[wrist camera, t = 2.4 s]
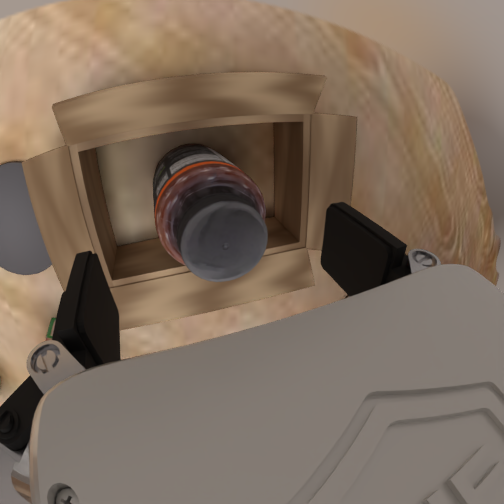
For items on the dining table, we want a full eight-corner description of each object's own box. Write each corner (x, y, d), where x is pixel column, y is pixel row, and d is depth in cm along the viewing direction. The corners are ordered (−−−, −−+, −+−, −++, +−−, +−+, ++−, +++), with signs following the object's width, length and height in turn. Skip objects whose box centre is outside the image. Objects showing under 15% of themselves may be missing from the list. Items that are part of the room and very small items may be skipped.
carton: (307, 80, 20) (359, 80, 15) (303, 240, 28) (341, 279, 23) (51, 112, 15) (12, 119, 9) (94, 283, 23) (85, 337, 17)
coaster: (51, 146, 16) (49, 147, 16) (82, 259, 22) (81, 263, 21) (-36, 181, 14) (-39, 184, 13) (-1, 279, 19) (-3, 282, 18)
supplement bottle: (224, 212, 24) (278, 294, 15) (153, 216, 22) (161, 308, 13) (230, 142, 21) (298, 181, 12) (153, 142, 19) (154, 182, 10)
